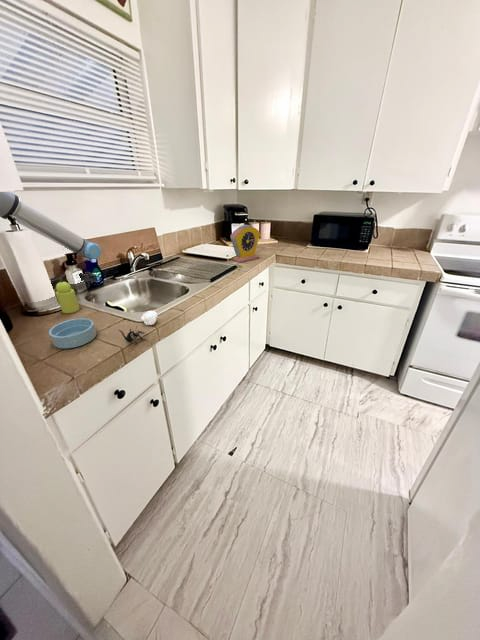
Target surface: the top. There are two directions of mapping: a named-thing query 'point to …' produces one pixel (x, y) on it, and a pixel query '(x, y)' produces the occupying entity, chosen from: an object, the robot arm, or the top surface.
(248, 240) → the yellow mantel clock
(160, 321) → the top surface
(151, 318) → the dumpling
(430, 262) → the top surface
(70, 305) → the yellow-green bottle
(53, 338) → the bowl
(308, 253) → the top surface
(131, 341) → the creature
